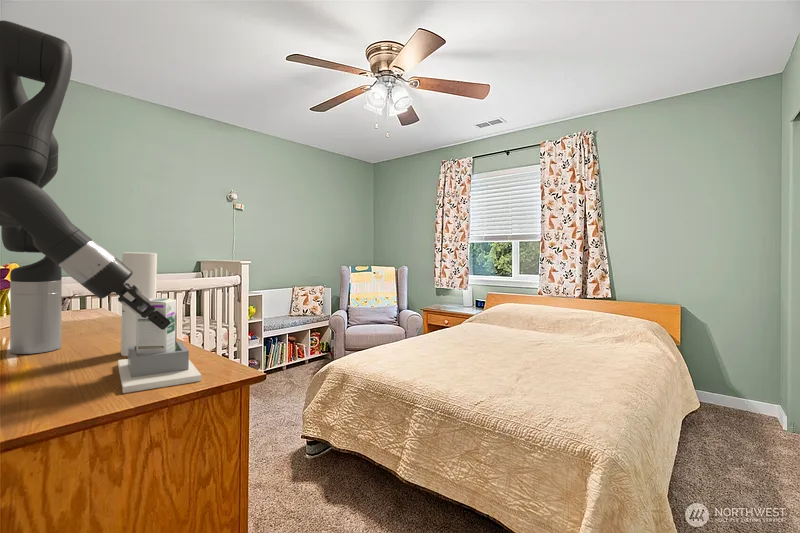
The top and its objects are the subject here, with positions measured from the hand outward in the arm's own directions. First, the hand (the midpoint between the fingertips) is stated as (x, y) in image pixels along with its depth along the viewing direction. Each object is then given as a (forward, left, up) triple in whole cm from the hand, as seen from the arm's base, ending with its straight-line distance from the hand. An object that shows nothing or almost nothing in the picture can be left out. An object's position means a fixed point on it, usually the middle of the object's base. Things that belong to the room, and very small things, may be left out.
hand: (164, 322), depth 83 cm
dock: (0, -1, -11) cm, 11 cm away
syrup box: (0, -1, -10) cm, 10 cm away
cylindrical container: (-20, -3, -11) cm, 23 cm away
